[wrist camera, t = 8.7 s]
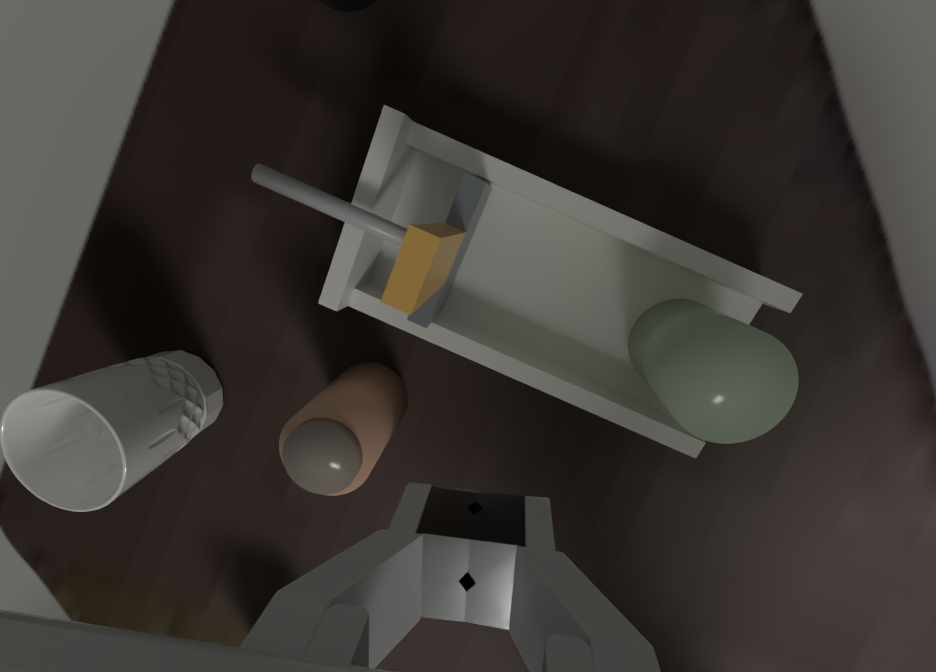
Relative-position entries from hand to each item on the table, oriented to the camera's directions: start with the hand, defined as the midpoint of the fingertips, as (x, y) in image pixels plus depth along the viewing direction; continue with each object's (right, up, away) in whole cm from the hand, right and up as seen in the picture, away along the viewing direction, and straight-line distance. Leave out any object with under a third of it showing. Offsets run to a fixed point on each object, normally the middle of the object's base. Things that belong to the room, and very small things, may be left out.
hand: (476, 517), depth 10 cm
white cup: (-23, 0, +26) cm, 35 cm away
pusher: (-5, +12, +20) cm, 23 cm away
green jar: (+13, +3, +20) cm, 24 cm away
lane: (+5, +7, +21) cm, 23 cm away
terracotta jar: (-8, -1, +24) cm, 26 cm away
